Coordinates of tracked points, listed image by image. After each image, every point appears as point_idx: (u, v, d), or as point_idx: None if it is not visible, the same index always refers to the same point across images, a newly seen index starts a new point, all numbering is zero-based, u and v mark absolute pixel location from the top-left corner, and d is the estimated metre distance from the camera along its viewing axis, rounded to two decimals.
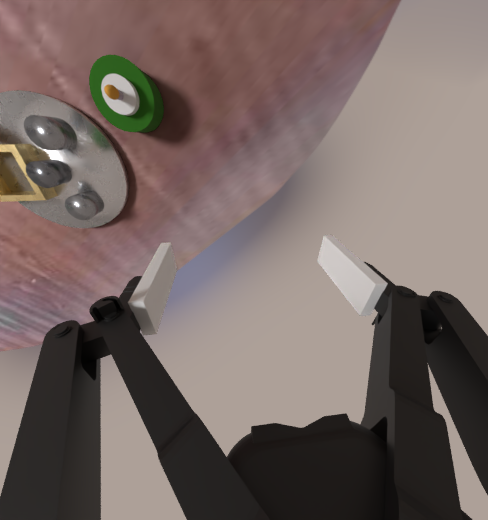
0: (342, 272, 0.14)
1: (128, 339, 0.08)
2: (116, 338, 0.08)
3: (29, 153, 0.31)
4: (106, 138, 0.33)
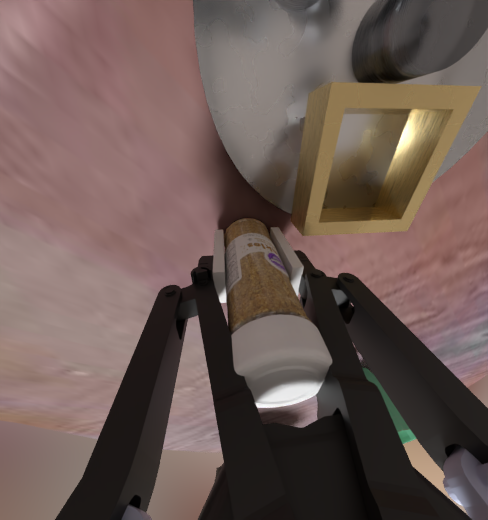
0: None
1: (210, 304, 0.10)
2: (203, 300, 0.10)
3: None
4: None
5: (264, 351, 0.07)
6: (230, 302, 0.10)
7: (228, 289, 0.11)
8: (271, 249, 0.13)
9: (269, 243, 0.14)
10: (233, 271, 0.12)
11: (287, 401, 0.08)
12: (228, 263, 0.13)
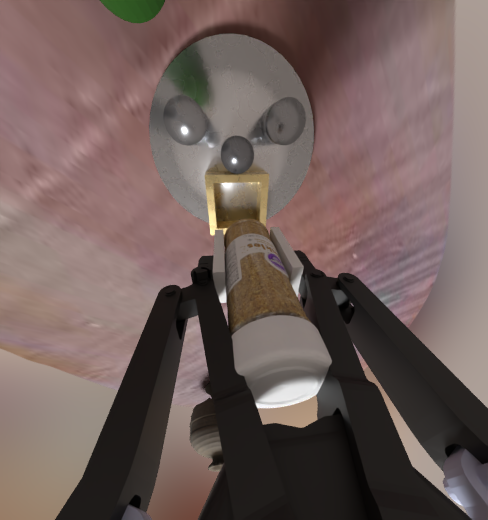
0: None
1: (210, 304, 0.10)
2: (202, 300, 0.10)
3: (215, 172, 0.26)
4: None
5: (264, 352, 0.07)
6: (230, 303, 0.10)
7: (228, 290, 0.11)
8: (271, 250, 0.13)
9: (269, 244, 0.14)
10: (233, 272, 0.12)
11: (287, 401, 0.08)
12: (228, 264, 0.13)
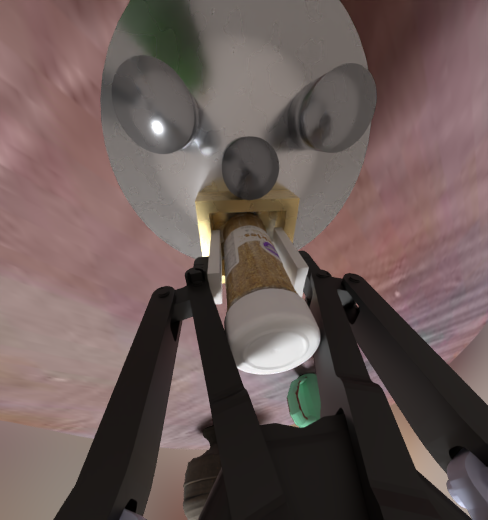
0: (283, 260, 0.15)
1: (205, 305, 0.10)
2: (197, 301, 0.10)
3: (212, 194, 0.16)
4: None
5: (258, 316, 0.08)
6: (229, 284, 0.11)
7: (227, 273, 0.12)
8: (266, 239, 0.14)
9: (265, 234, 0.15)
10: (231, 257, 0.13)
11: (279, 367, 0.09)
12: (227, 252, 0.14)
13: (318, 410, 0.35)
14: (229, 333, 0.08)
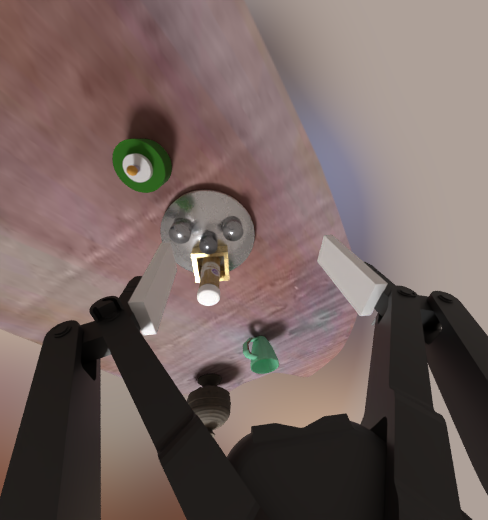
0: (342, 272, 0.14)
1: (128, 339, 0.08)
2: (116, 338, 0.08)
3: (197, 249, 0.45)
4: (180, 197, 0.40)
5: (203, 289, 0.37)
6: (200, 282, 0.40)
7: (200, 279, 0.41)
8: (214, 267, 0.43)
9: (215, 265, 0.44)
10: (201, 274, 0.42)
11: (210, 303, 0.38)
12: (201, 272, 0.43)
13: (260, 352, 0.64)
14: (197, 293, 0.37)
